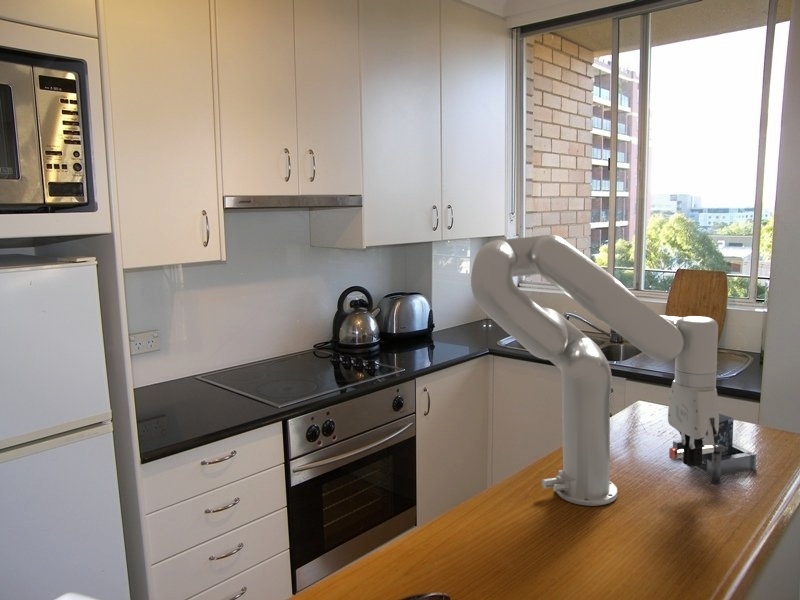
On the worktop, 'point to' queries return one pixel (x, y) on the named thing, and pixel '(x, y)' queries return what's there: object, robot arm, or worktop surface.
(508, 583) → the worktop surface
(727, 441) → the box
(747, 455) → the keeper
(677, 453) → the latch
